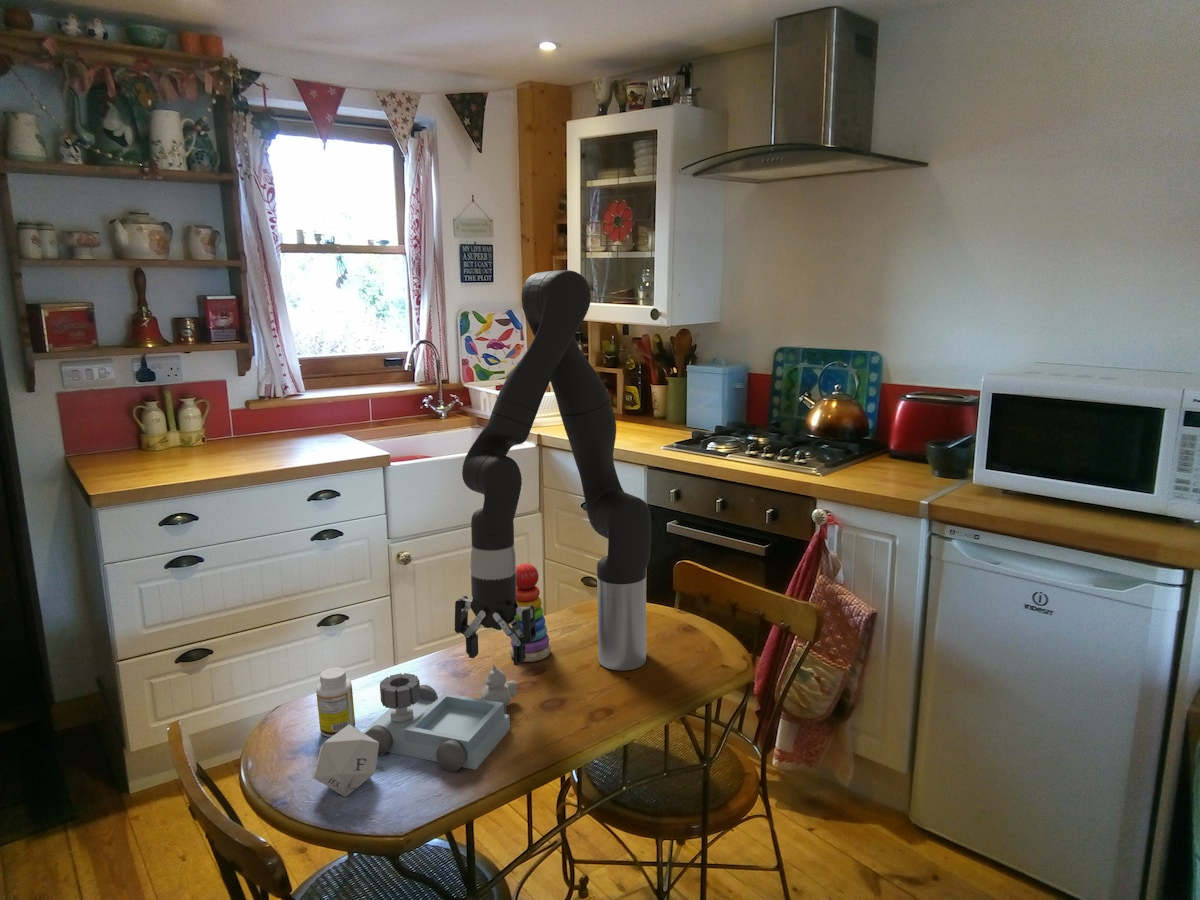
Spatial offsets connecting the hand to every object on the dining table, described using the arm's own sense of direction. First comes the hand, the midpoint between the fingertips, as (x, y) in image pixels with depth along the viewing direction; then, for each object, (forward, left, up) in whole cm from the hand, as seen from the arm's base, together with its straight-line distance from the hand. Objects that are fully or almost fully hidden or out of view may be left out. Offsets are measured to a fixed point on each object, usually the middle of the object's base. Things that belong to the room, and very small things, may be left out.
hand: (495, 660), depth 140 cm
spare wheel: (+12, -11, -3) cm, 17 cm away
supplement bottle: (+15, -22, -9) cm, 28 cm away
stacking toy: (-20, -3, -9) cm, 22 cm away
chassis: (+12, -5, -9) cm, 16 cm away
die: (+27, -11, -9) cm, 31 cm away
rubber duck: (0, 0, -9) cm, 9 cm away
